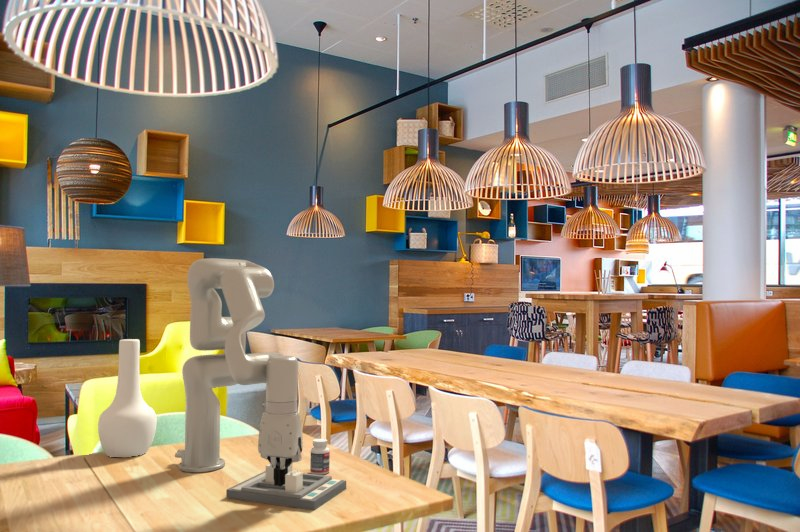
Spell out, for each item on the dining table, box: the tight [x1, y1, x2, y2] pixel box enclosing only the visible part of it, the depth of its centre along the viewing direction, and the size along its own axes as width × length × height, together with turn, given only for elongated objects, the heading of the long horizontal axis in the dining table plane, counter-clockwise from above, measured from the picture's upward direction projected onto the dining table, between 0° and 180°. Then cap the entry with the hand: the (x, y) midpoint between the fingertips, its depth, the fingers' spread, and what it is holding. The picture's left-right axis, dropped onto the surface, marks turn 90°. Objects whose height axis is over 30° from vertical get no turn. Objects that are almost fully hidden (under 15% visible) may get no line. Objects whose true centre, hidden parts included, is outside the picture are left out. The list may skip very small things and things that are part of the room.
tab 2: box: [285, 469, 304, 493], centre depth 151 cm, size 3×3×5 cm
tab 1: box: [265, 462, 274, 483], centre depth 158 cm, size 3×3×5 cm
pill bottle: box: [309, 438, 331, 476], centre depth 175 cm, size 5×5×9 cm
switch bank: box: [225, 470, 347, 511], centre depth 157 cm, size 24×17×3 cm
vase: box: [97, 338, 158, 458], centre depth 195 cm, size 17×17×35 cm
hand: (280, 484), depth 152 cm, fingers closed
